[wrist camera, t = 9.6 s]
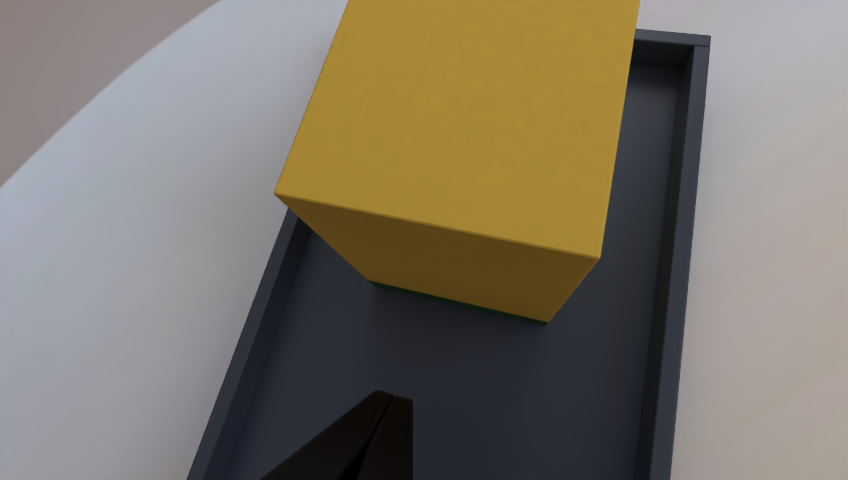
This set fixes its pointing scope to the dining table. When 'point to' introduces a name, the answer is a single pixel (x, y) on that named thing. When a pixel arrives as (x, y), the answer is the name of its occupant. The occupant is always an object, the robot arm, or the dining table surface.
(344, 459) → the robot arm
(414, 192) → the sponge
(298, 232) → the tray
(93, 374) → the dining table surface
